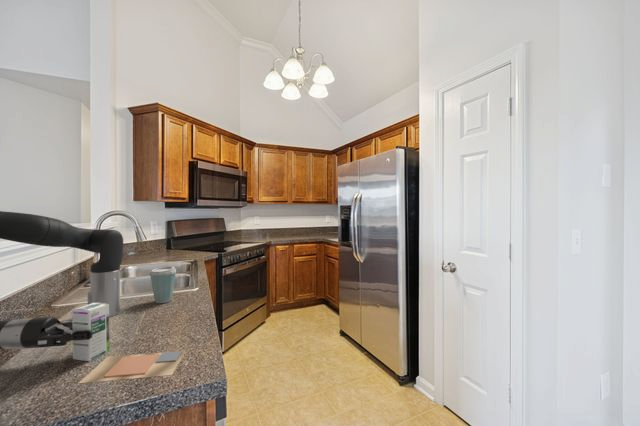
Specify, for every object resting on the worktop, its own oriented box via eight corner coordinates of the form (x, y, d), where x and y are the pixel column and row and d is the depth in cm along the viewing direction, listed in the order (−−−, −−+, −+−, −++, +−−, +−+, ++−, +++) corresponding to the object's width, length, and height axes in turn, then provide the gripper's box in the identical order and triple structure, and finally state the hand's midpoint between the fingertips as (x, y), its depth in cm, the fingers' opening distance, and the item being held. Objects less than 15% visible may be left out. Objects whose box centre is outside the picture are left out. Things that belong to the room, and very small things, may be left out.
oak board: (77, 387, 64) (77, 383, 64) (107, 360, 76) (107, 356, 76) (171, 379, 68) (171, 374, 68) (186, 354, 80) (186, 350, 80)
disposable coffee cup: (161, 306, 120) (161, 271, 120) (143, 303, 124) (143, 269, 124) (181, 299, 130) (181, 266, 130) (164, 296, 134) (164, 265, 134)
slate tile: (155, 362, 73) (155, 361, 73) (162, 353, 78) (162, 352, 78) (176, 361, 74) (176, 360, 74) (181, 351, 79) (181, 350, 79)
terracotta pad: (103, 377, 67) (103, 376, 67) (123, 358, 76) (123, 357, 76) (145, 373, 68) (145, 372, 68) (159, 355, 77) (159, 354, 77)
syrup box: (89, 365, 74) (89, 310, 74) (71, 362, 75) (71, 308, 75) (109, 354, 80) (110, 303, 79) (92, 352, 81) (93, 301, 81)
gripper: (6, 329, 68) (83, 325, 71) (51, 309, 82) (114, 306, 85) (5, 361, 68) (83, 355, 71) (51, 335, 82) (114, 331, 85)
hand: (100, 328), depth 78 cm, fingers closed on syrup box, 7 cm apart
